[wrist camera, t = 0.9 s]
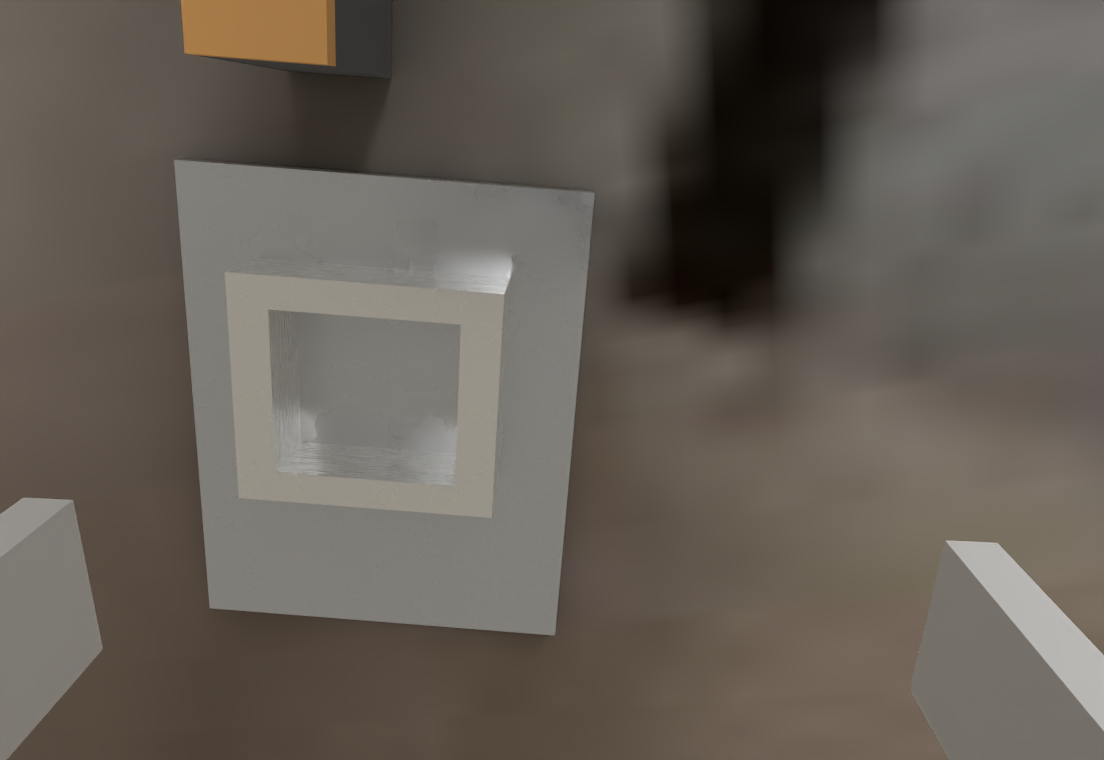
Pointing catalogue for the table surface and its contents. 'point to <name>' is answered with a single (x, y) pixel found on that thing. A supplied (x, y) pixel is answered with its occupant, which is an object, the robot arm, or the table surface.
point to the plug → (293, 34)
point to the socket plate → (383, 390)
